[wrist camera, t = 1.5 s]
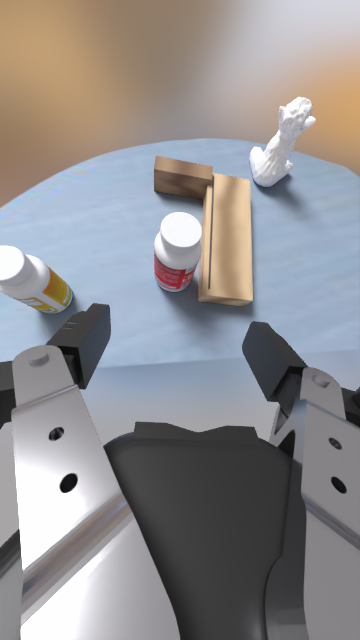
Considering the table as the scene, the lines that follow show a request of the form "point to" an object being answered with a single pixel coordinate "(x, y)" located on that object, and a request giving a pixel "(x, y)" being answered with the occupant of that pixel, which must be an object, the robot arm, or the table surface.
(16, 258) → the supplement bottle
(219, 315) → the table surface
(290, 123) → the seated beast figurine
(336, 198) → the table surface
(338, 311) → the table surface
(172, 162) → the wooden l-shaped block
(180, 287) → the pill bottle
